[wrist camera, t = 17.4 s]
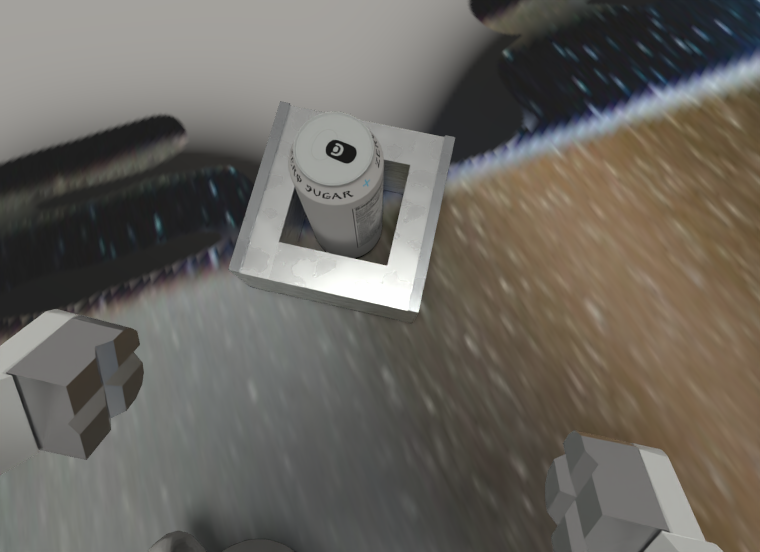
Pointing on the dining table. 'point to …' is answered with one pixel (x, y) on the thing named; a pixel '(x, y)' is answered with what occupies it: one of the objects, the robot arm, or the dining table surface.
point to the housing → (334, 272)
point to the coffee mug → (183, 548)
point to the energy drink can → (339, 182)
